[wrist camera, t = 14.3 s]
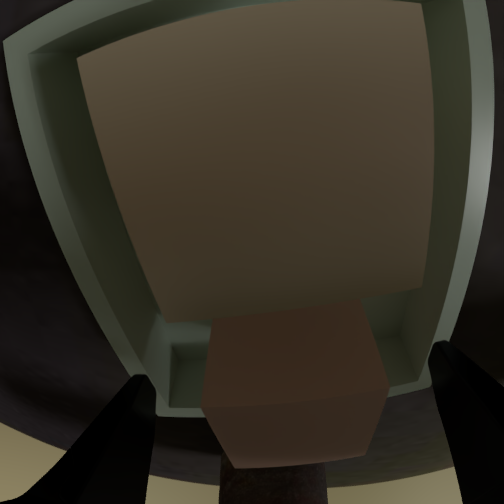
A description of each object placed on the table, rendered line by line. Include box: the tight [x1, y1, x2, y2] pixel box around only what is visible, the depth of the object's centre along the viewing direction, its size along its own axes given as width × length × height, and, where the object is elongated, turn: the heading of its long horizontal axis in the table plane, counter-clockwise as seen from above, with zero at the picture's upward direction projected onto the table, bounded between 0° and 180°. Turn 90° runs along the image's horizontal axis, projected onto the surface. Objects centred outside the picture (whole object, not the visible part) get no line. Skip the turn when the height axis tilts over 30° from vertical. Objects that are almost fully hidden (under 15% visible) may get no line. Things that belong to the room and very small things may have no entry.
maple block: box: [77, 0, 434, 323], centre depth 6 cm, size 4×4×6 cm
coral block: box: [200, 299, 390, 468], centre depth 10 cm, size 4×4×6 cm
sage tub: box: [3, 0, 494, 417], centre depth 10 cm, size 15×12×4 cm
